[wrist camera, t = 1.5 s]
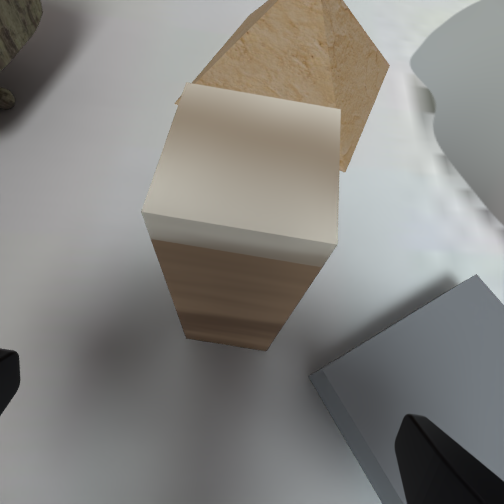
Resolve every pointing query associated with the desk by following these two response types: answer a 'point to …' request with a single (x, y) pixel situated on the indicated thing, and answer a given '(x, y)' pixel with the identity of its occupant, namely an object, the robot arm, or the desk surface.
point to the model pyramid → (304, 62)
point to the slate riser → (423, 383)
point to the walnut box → (243, 210)
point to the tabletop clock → (15, 34)
